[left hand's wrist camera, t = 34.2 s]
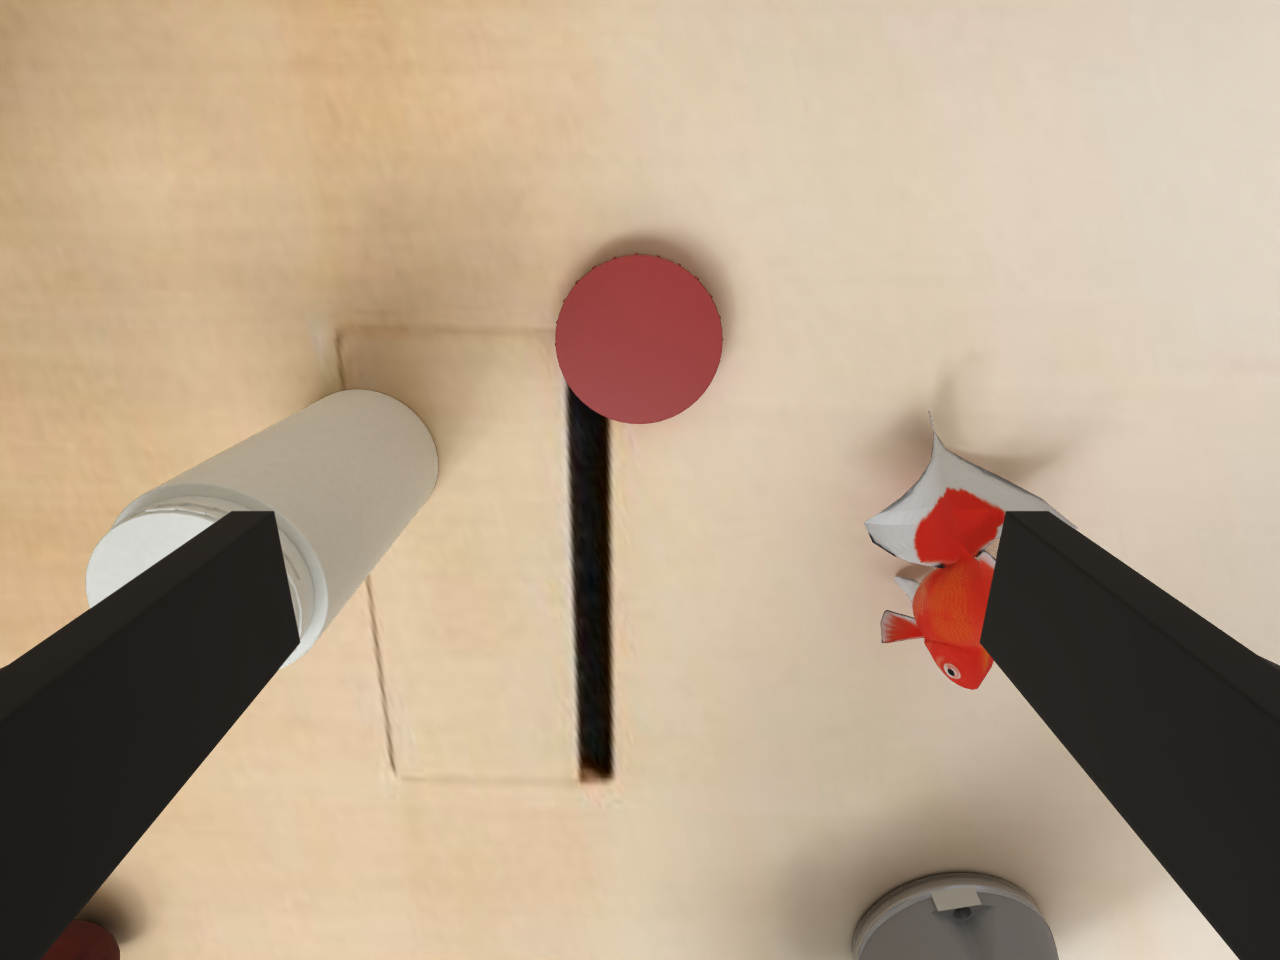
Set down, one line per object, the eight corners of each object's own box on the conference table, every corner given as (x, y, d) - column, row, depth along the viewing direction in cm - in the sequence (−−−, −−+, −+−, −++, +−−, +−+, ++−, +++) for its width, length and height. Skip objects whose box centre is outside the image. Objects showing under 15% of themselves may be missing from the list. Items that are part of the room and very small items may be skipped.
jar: (449, 518, 42) (333, 695, 26) (315, 527, 43) (117, 709, 27) (424, 383, 40) (275, 490, 23) (280, 394, 40) (33, 508, 24)
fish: (804, 673, 41) (935, 717, 31) (816, 414, 42) (945, 385, 33) (940, 672, 45) (1092, 711, 36) (948, 436, 46) (1095, 415, 37)
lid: (751, 349, 39) (757, 355, 37) (628, 446, 41) (627, 456, 39) (651, 216, 36) (651, 216, 35) (524, 326, 38) (519, 331, 37)
